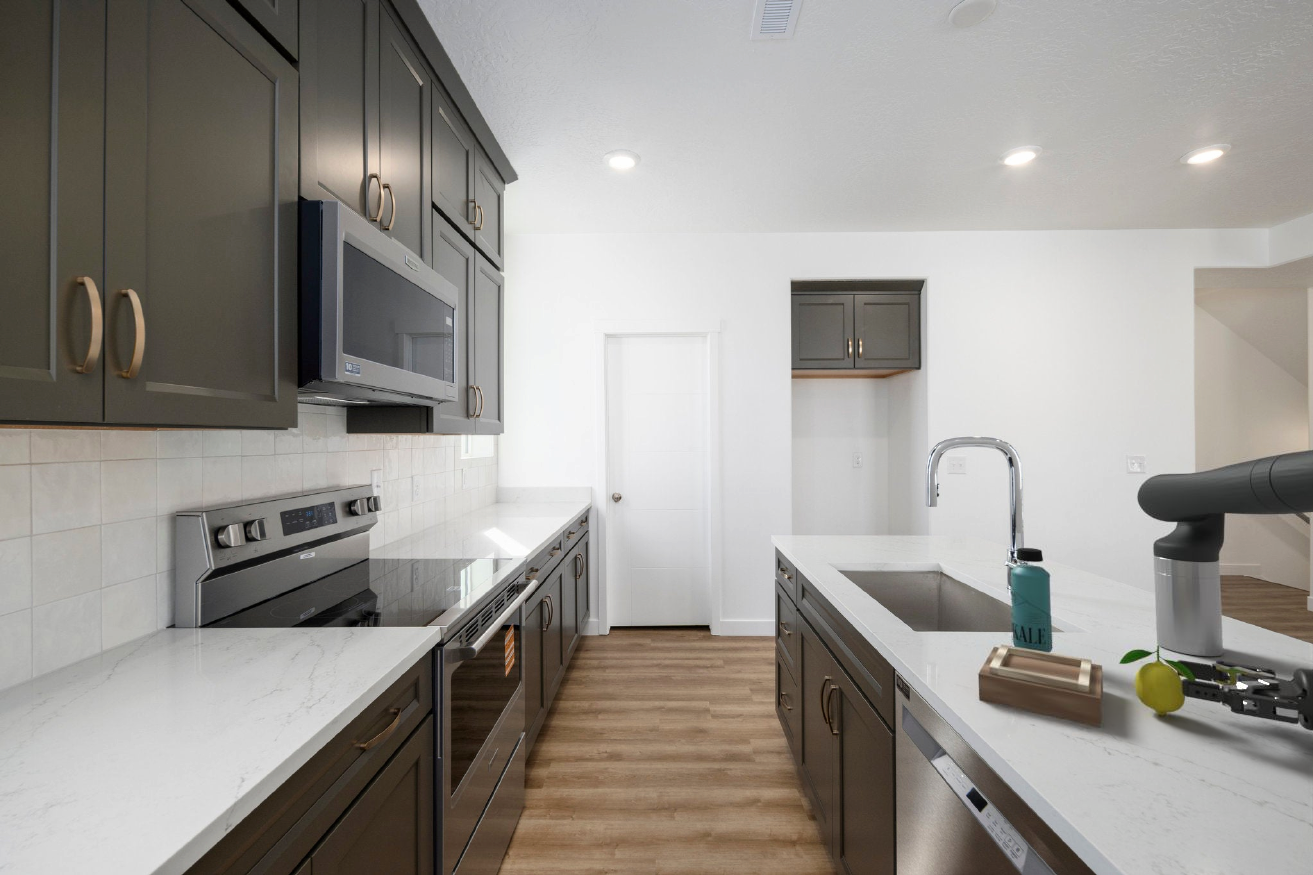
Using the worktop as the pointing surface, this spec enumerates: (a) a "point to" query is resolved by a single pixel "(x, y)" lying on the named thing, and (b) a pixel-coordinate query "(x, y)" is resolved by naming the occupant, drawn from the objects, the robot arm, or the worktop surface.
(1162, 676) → the lemon
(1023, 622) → the beverage bottle
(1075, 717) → the stand
